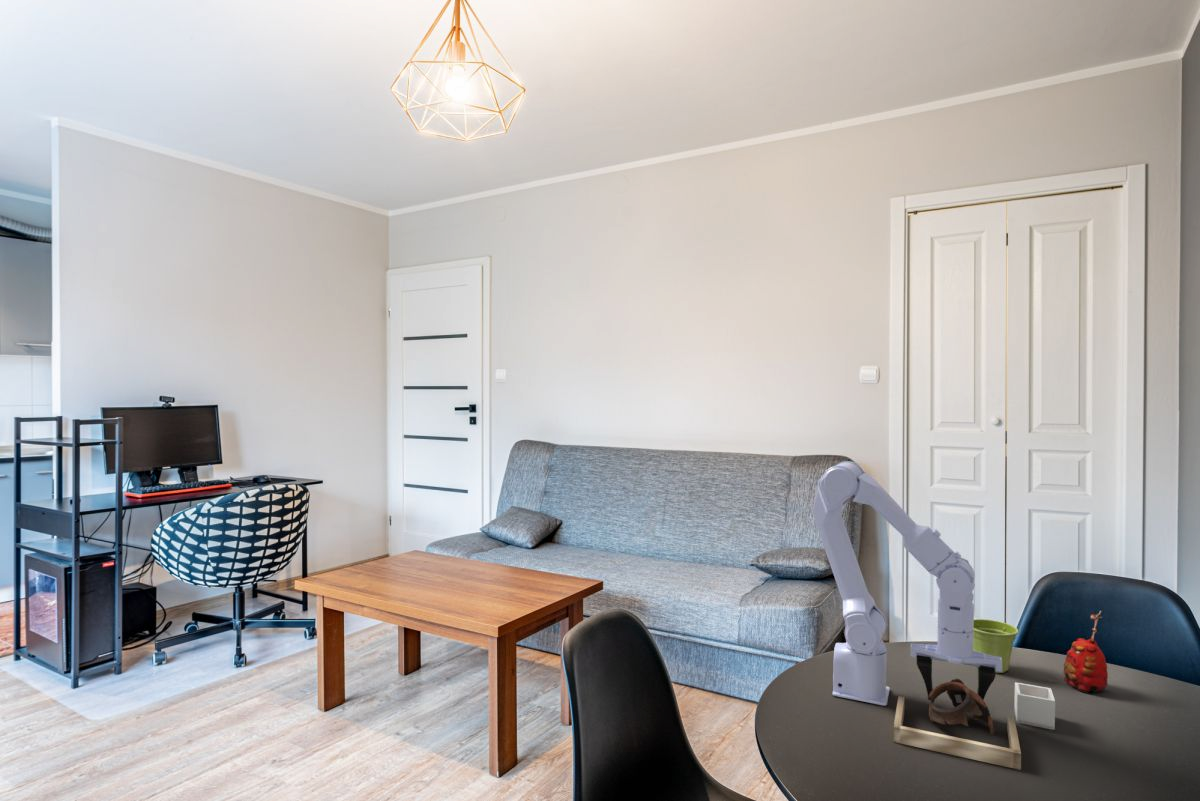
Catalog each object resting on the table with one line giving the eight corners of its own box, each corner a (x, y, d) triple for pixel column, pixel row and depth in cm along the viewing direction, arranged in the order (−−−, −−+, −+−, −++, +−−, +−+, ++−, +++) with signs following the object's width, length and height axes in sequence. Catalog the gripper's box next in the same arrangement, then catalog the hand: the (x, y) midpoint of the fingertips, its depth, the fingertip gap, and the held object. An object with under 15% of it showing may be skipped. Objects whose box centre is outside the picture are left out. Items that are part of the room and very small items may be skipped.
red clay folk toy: (1055, 677, 138) (1057, 603, 137) (1092, 679, 137) (1094, 604, 137) (1078, 695, 130) (1080, 616, 130) (1118, 696, 129) (1119, 618, 129)
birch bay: (893, 741, 113) (893, 726, 113) (898, 709, 124) (898, 696, 124) (1020, 769, 105) (1021, 753, 105) (1014, 732, 116) (1014, 718, 116)
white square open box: (1017, 722, 119) (1017, 694, 119) (1014, 709, 124) (1014, 682, 124) (1054, 730, 117) (1055, 701, 117) (1050, 716, 122) (1050, 688, 122)
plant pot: (958, 657, 148) (959, 617, 148) (1005, 659, 147) (1005, 619, 146) (976, 675, 139) (976, 633, 138) (1026, 678, 137) (1026, 635, 137)
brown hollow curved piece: (1004, 747, 112) (982, 707, 111) (946, 760, 116) (924, 721, 115) (988, 697, 123) (968, 659, 122) (936, 709, 127) (915, 674, 126)
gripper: (909, 628, 122) (909, 703, 122) (1004, 642, 116) (1002, 721, 116) (911, 616, 128) (910, 687, 129) (1001, 628, 122) (999, 704, 122)
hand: (954, 702), depth 123 cm, fingers open, 7 cm apart
